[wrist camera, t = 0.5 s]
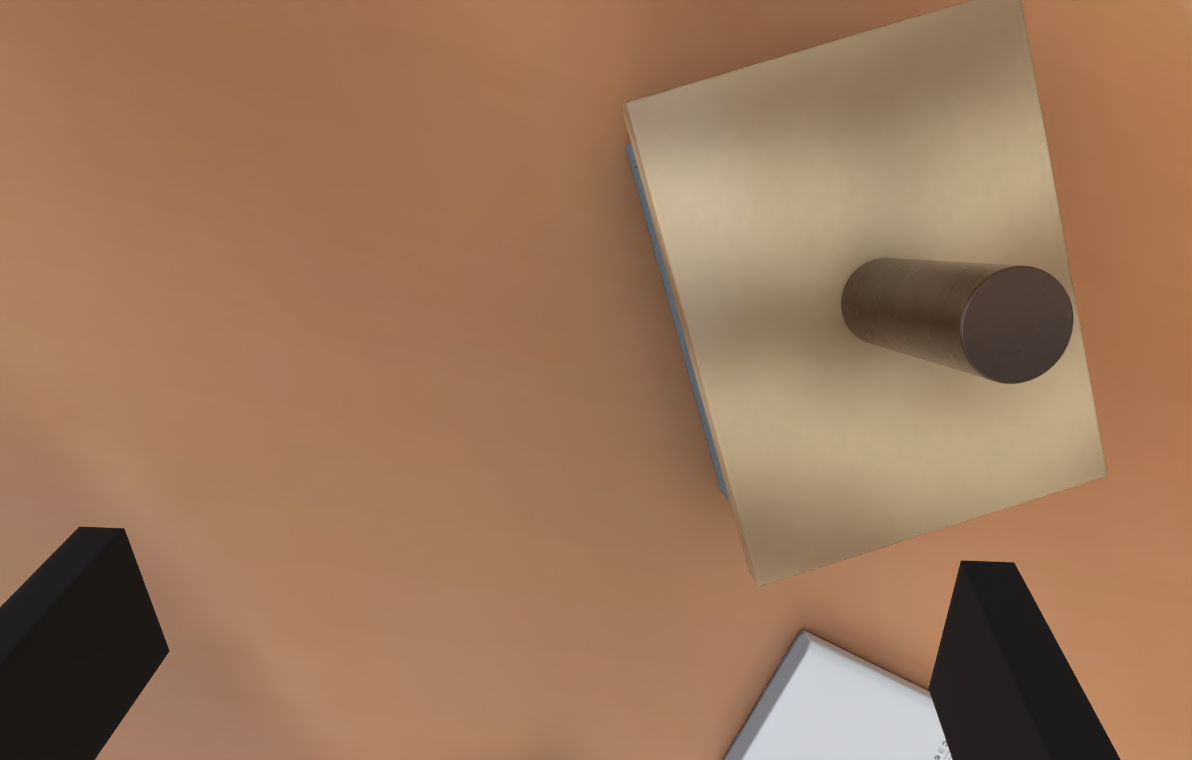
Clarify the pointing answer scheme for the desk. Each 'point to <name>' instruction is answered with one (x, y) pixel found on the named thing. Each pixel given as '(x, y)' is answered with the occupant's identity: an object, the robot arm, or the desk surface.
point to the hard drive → (839, 711)
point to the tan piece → (873, 284)
